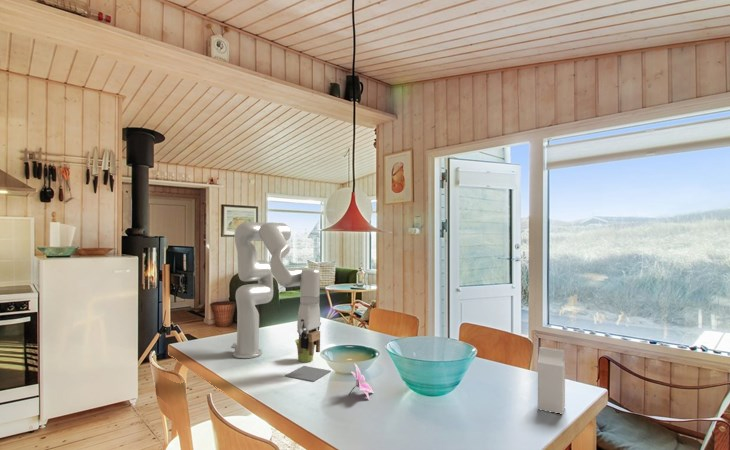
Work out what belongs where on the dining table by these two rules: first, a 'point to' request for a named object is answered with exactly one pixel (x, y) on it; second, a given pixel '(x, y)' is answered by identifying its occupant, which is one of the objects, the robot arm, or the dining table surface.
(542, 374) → the milk carton
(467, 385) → the dining table surface
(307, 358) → the plant pot
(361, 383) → the lily
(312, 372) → the mat
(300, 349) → the stool
